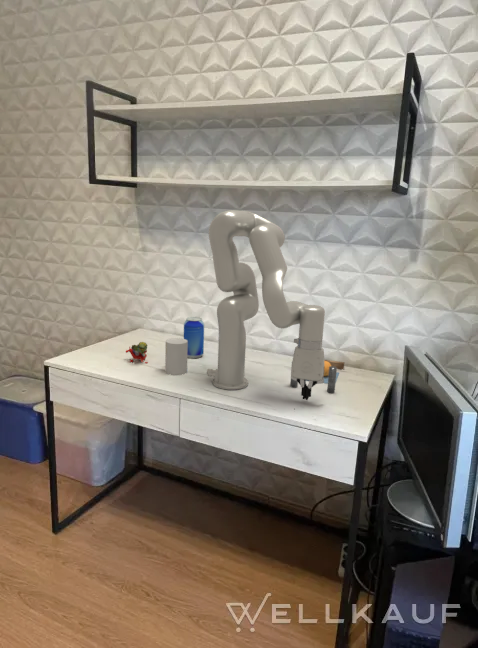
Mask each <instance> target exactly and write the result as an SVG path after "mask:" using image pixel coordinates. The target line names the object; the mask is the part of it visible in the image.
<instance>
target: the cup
mask: <svg viewBox="0 0 478 648" xmlns="http://www.w3.org/2000/svg"><path fill="white" fill-rule="evenodd" d="M187 350H188V341H187V340H186V339H184V338H180V337H171V338H168V339H166V340H165V355H164V356H165V363H164V364H165V366H164V367H165V368H164V370H165V371H164V372H165V373H166V374H168V375H169V374H171V375H170V376H183V375H185V373H186V374H187V373H188V358H187ZM182 374H183V375H182Z"/></svg>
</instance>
